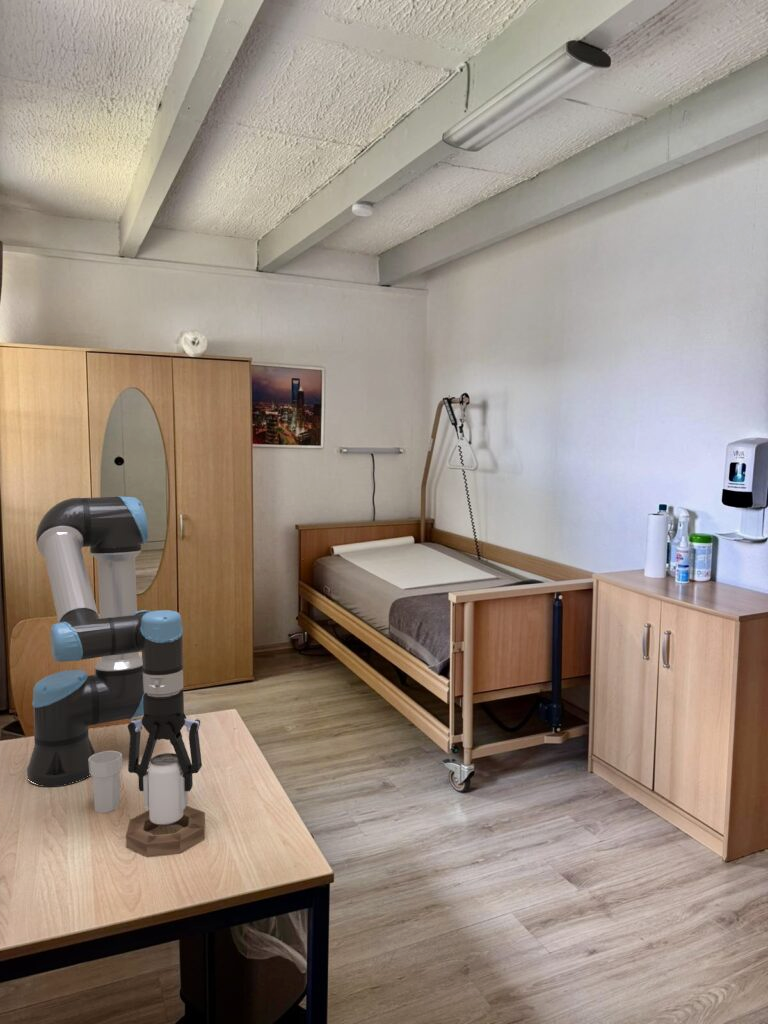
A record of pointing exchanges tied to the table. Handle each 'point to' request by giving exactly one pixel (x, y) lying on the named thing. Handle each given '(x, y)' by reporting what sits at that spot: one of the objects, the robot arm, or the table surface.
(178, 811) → the can
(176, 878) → the table surface
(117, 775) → the cup
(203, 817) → the brown octagonal frame
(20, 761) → the table surface
